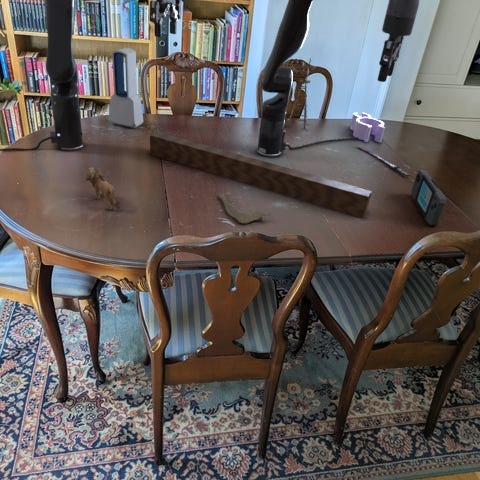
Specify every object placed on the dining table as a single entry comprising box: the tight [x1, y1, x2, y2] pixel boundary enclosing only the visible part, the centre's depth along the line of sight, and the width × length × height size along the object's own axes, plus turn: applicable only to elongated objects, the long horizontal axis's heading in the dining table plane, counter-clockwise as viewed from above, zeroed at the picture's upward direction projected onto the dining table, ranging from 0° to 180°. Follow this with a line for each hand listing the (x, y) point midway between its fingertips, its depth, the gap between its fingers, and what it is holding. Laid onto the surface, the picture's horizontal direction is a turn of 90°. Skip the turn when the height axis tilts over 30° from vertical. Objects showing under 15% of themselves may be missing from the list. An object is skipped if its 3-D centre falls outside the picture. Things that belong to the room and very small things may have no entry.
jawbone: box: [218, 193, 271, 225], centre depth 143 cm, size 9×20×2 cm, turn 50°
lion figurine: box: [82, 167, 121, 211], centre depth 139 cm, size 15×5×9 cm, turn 50°
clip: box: [349, 112, 386, 143], centre depth 214 cm, size 20×12×7 cm, turn 11°
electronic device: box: [108, 47, 144, 129], centre depth 190 cm, size 12×8×30 cm, turn 71°
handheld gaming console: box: [410, 169, 447, 227], centre depth 153 cm, size 23×3×10 cm, turn 178°
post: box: [149, 131, 373, 219], centre depth 161 cm, size 81×5×8 cm, turn 64°
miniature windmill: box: [286, 57, 312, 130], centre depth 210 cm, size 9×8×30 cm
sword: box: [357, 146, 410, 177], centre depth 189 cm, size 31×3×1 cm, turn 26°
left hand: (165, 35), depth 152 cm, fingers open, 8 cm apart
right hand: (384, 78), depth 128 cm, fingers open, 8 cm apart
